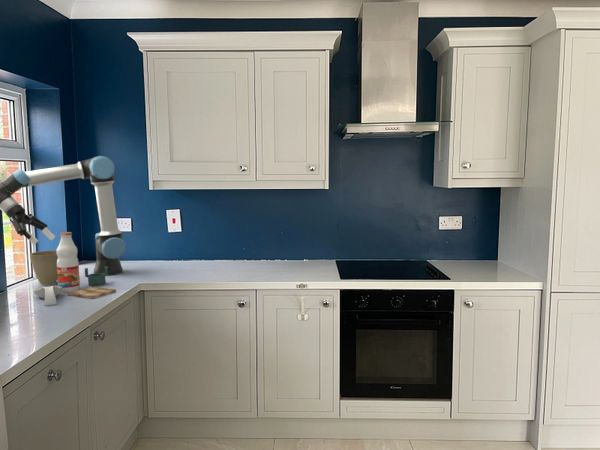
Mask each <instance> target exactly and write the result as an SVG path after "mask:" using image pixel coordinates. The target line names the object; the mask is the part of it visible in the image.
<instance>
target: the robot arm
mask: <svg viewBox="0 0 600 450" xmlns="http://www.w3.org/2000/svg"><path fill="white" fill-rule="evenodd" d="M75 179H82V180H87V179H90V184H91V185H93V186H94V191H95V197H96V199H95V200H96V206H97V213H98V219H99V225H100V227H99V228H100V232H97V233H96V234H95V238H94V239H95V240H94V241H95V253H96V257H95V258H96V261H95V266H94V269H93V274H94V273H105V267H106V266H108V275H107V276H111V275H113V276H114V275H119V274H121V273H123V269H124V268H123V266H122V263H121V260H120V258H121V257H122V256H123V255H124V254H125V252H126V248H127V247H126V244H125V241H124V238H123V233H122V231H121V230H120V229H119V225H118V218H117V212H116V211H117V210H116V203H115V198H114V197H115V196H114V189H113V184H114V183H115V165H114V162H113V161H112V160H111V159H110V158H108V157H107V156H103V155H99V156H93V157H92V158H89V159H85V160H81V161H77V163H75V164H74V163H73V164H65V165H60V166H55V167H48V168H41V169H35V170H29V171H23V169H21V168H18V169H17V170H15V171H14V172H12V173H10V174H8V175H7V176H6V178H4V179H3V180H2V181H0V210H1V212H3V213H4V214H5V215H6V217H8V218H9V222H11V224H12V226H13V228H14V230H15V231H16V233H17V235H20V236H21V237H23V236H24V237H25V238H26V239H27V240H28V241H29V242H30V243H31V245H34V246H35V245H36V244H37V243H38V242H39V239H37V238H36V236H34V235H33V234H32V233H31V232H30V231H29V230H27V228H26V225H28V226H32V227H34V228H36V229H38V230H40V231H41V233H42V234H43V235H44V236H45V237H46V238H47V239H48V240H50V241H53V240H54V239H55V238H56V235H54V234H53V233H52V232H51V231H50V230H49V229H48V228H47V227H48V224H47V223H45V222H43V221H42V220H40V219H38V218H37V217H35V216H34V215H33V214H32V213H29V214H26V209H25V208H24V207H23V206H22V205H21V204H20V203H19V202H18V201H17V200H16V199H15V198H14V197H13V196H12V195H14V194H15V193H16V192H18V191H19V190H21V189H22V188H26V187H27V188H28V187H33V186H40V185H44V184H45V185H46V184H49V183H50V184H51V183H59V182H63V181H68V180H75Z"/></svg>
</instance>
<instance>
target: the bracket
mask: <svg viewBox="0 0 600 450" xmlns="http://www.w3.org/2000/svg"><path fill="white" fill-rule="evenodd" d="M107 276H109V275H108V266H106V267H105V273H94V272H93V273H90V274H89V268H88V267H85V268H84V277H85V278H87V282H88V283H87V285H88V287H95V286H96V287H102V286H105V285H106V283H107V282H106V277H107Z"/></svg>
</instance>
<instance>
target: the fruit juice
mask: <svg viewBox="0 0 600 450" xmlns="http://www.w3.org/2000/svg"><path fill="white" fill-rule="evenodd" d="M59 235H60V241H59V244H58V246H57V248H56V250H55V251H56V253H57V256H58V260H57V275H58V280H57V287H62V290H61V292H60V293H70V292H74V291H78V290H81V289H80V288H81V283H80V280H81V278H80V265H79V264H80V263H79V258H78V247H77V245H75V243H74V241H73V238H72V235H73V233H72V232H71V231H63V232H60V234H59Z"/></svg>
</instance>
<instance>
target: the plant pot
mask: <svg viewBox="0 0 600 450" xmlns="http://www.w3.org/2000/svg"><path fill="white" fill-rule="evenodd" d="M29 258H30V261H31V265H32V269H33V272H34V274H35V276H36V279H37V281H38V283H39V285H41V286H50V285H51V286H53V285H55V284H58V275H57V260H58V256H57V253H56V250H41V251H35V252H31V253H29Z"/></svg>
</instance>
